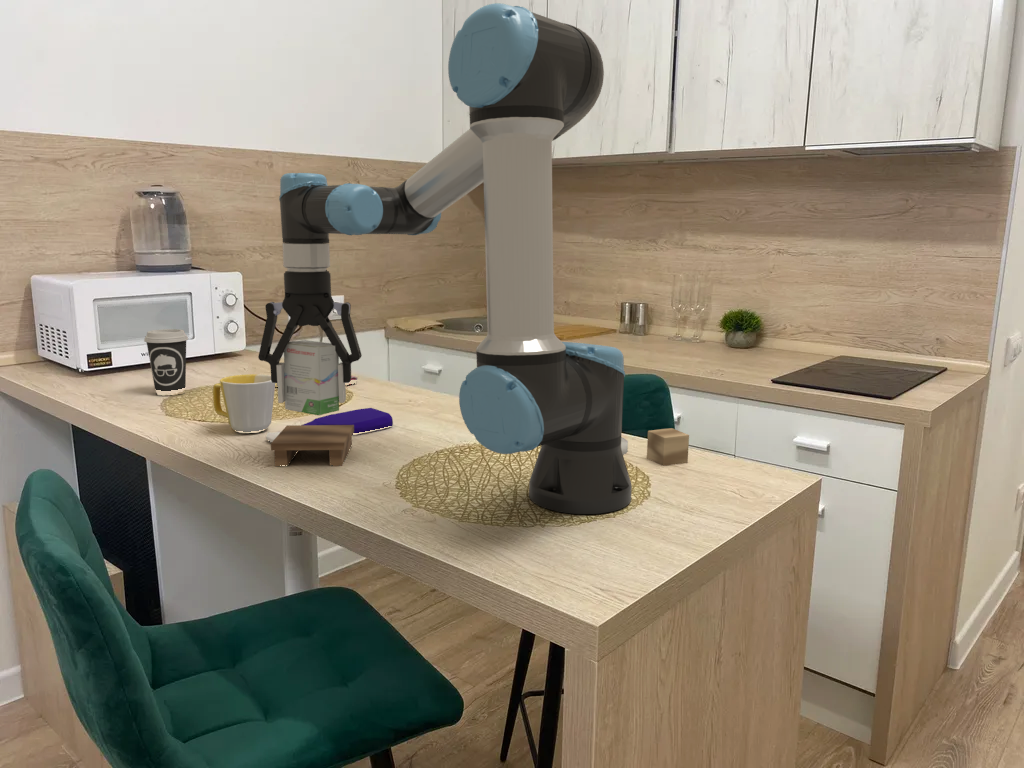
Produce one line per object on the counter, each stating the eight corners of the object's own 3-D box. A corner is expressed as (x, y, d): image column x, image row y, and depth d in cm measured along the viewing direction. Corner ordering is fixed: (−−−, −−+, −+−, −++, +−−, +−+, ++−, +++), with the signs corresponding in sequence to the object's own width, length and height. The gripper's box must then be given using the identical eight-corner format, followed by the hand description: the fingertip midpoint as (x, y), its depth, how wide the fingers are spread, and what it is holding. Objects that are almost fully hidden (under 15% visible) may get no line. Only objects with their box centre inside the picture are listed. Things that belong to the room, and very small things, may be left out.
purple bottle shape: (368, 405, 161) (256, 426, 144) (397, 415, 153) (282, 438, 137) (368, 419, 161) (257, 442, 145) (398, 429, 153) (283, 454, 137)
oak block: (687, 463, 132) (689, 435, 131) (663, 466, 130) (664, 437, 129) (670, 455, 136) (672, 428, 135) (646, 458, 134) (647, 430, 133)
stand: (345, 465, 128) (344, 442, 127) (272, 466, 127) (270, 443, 127) (354, 446, 140) (354, 424, 139) (287, 446, 139) (286, 425, 138)
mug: (289, 429, 151) (286, 377, 149) (244, 440, 143) (241, 385, 141) (246, 419, 159) (243, 369, 157) (202, 429, 151) (198, 377, 149)
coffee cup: (200, 392, 185) (196, 330, 182) (164, 399, 177) (159, 335, 174) (176, 387, 190) (171, 327, 187) (140, 394, 182) (134, 331, 179)
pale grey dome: (632, 458, 135) (632, 447, 135) (581, 458, 134) (582, 447, 134) (621, 444, 144) (622, 434, 143) (574, 444, 143) (574, 434, 143)
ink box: (284, 409, 132) (280, 342, 130) (306, 404, 137) (303, 338, 134) (320, 416, 128) (317, 346, 125) (342, 410, 132) (339, 342, 130)
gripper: (376, 269, 132) (379, 396, 136) (245, 268, 130) (252, 396, 135) (371, 271, 124) (375, 405, 129) (232, 270, 123) (240, 406, 127)
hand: (312, 401), depth 132 cm, fingers closed on ink box, 9 cm apart
